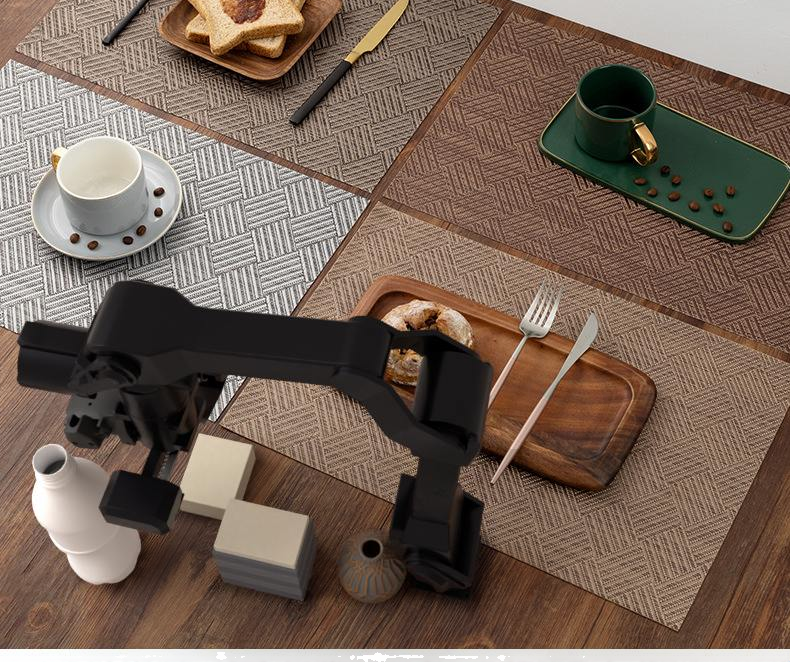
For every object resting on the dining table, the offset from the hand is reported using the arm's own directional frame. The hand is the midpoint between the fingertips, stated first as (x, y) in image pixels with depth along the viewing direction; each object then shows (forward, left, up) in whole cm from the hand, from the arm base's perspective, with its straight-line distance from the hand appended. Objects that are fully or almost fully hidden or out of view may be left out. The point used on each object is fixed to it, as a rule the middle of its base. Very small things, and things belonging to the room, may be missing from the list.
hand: (185, 464), depth 108 cm
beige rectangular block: (0, -4, -14) cm, 14 cm away
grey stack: (-8, +3, -14) cm, 17 cm away
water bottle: (+8, +6, -14) cm, 17 cm away
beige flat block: (-8, +3, -5) cm, 10 cm away
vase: (-19, +2, -14) cm, 24 cm away
